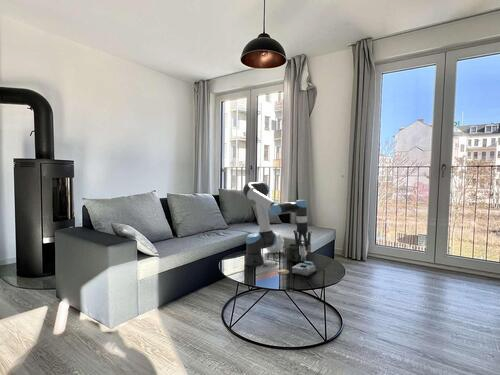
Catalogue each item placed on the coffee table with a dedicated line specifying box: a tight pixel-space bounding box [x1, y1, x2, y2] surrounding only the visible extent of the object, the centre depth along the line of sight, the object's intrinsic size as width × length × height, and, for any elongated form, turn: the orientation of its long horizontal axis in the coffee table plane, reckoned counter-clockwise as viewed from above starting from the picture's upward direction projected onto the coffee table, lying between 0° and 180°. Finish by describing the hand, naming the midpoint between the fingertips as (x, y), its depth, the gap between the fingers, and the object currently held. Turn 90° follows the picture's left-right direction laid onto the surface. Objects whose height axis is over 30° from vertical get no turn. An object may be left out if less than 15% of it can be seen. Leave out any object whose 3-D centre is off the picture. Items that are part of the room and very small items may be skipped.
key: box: [300, 241, 307, 263], centre depth 205 cm, size 3×6×13 cm, turn 142°
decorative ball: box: [265, 230, 285, 254], centre depth 258 cm, size 20×17×20 cm
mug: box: [284, 243, 302, 262], centre depth 235 cm, size 11×15×12 cm
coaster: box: [277, 269, 290, 275], centre depth 207 cm, size 8×8×1 cm
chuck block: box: [291, 260, 316, 277], centre depth 207 cm, size 12×15×5 cm
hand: (303, 254), depth 205 cm, fingers closed on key, 3 cm apart
